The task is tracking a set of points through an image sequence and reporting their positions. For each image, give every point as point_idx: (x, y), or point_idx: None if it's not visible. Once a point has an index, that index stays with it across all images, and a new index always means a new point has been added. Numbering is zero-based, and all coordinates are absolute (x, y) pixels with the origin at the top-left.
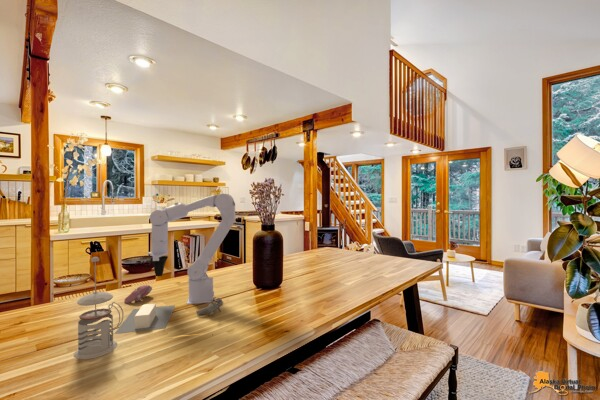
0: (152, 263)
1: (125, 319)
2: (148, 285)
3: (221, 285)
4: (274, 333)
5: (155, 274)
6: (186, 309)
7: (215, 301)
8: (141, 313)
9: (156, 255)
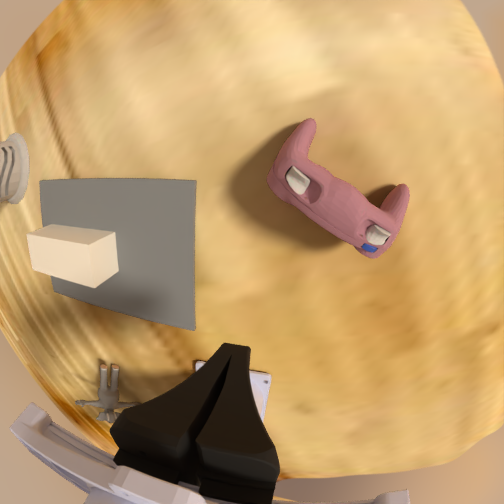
0: (146, 402)
1: (102, 178)
2: (375, 244)
3: (363, 441)
4: (68, 410)
5: (219, 348)
6: (161, 352)
7: (109, 412)
8: (36, 249)
9: (29, 449)
